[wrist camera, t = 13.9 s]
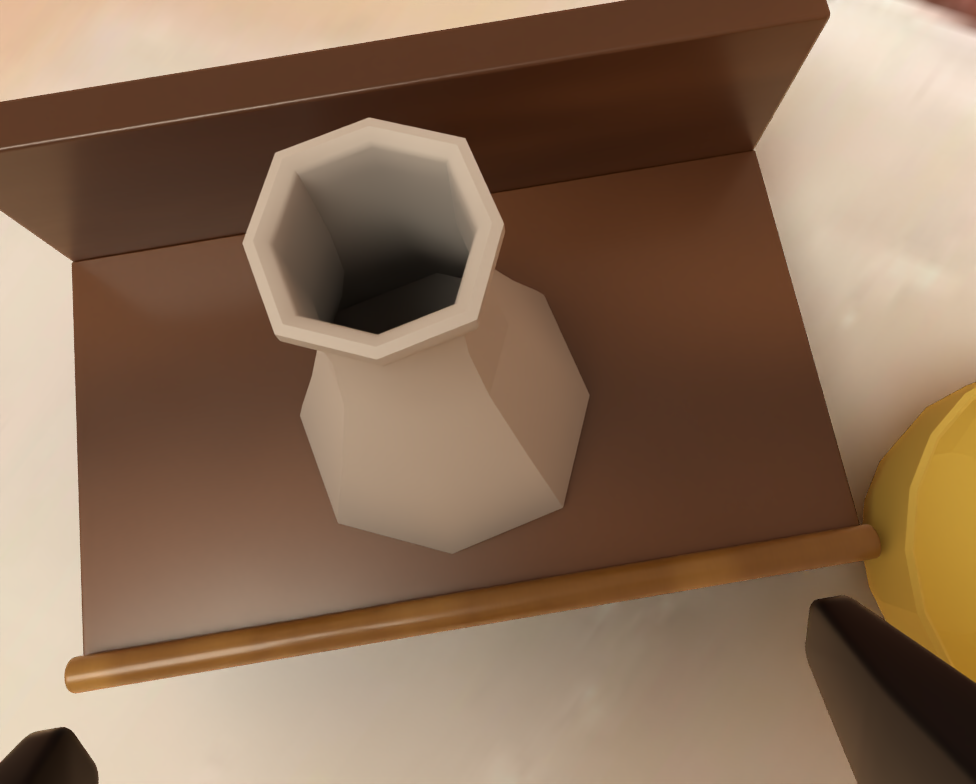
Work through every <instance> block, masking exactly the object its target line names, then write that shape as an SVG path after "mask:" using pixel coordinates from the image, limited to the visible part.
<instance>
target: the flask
mask: <svg viewBox="0 0 976 784" xmlns="http://www.w3.org/2000/svg"><path fill="white" fill-rule="evenodd" d="M504 234H505V227H504V223H503V220H502V218H501V216H500V214H499V212H498V209H497V207H496V205H495V203H494V201H493V198H492V196H491V194H490V192H489V189H488V187H487V185H486V183H485V181H484V178H483V176H482V174H481V172H480V170H479V167H478V165H477V163H476V161H475V159H474V156H473V154H472V152H471V150H470V147H469V145H468V143H467V141H466V139H465V138H462V137H457V136H453V135H448V134H444V133H439V132H434V131H430V130H425V129H420V128H416V127H411V126H407V125H402V124H397V123H393V122H388V121H383V120H379V119H374V118H366V119H364V120H361V121H358V122H356V123H353V124H350V125H348V126H345V127H342V128H340V129H337V130H334V131H332V132H329V133H326V134H324V135H321V136H319V137H316V138H313V139H311V140H308V141H305V142H303V143H300V144H297V145H295V146H292V147H289V148H287V149H284V150H281V151H279V152H276V153H275V155H274V157H273V160H272V163H271V166H270V168H269V171H268V174H267V177H266V179H265V182H264V185H263V188H262V190H261V193H260V196H259V199H258V201H257V204H256V207H255V210H254V213H253V215H252V218H251V221H250V224H249V226H248V229H247V232H246V235H245V237H244V240H243V243H242V244H243V246H244V249H245V252H246V255H247V258H248V260H249V263H250V266H251V269H252V272H253V275H254V277H255V280H256V283H257V286H258V289H259V292H260V294H261V297H262V300H263V303H264V306H265V308H266V311H267V314H268V317H269V320H270V323H271V325H272V328H273V331H274V334H275V335H276V337H277V338H278V339H279V341H282V342H286V343H290V344H294V345H298V346H302V347H306V348H310V349H314V350H317V353H316V358H315V363H314V368H313V373H312V377H311V380H310V383H309V386H308V390H307V393H306V396H305V399H304V402H303V405H302V409H301V413H300V417H301V420H302V423H303V426H304V428H305V431H306V434H307V437H308V440H309V443H310V445H311V448H312V451H313V454H314V457H315V460H316V462H317V465H318V468H319V471H320V474H321V477H322V479H323V482H324V485H325V488H326V491H327V494H328V496H329V499H330V502H331V505H332V508H333V511H334V513H335V516H336V519H337V522H338V523H339V524H343V525H346V526H350V527H354V528H358V529H361V530H365V531H369V532H373V533H376V534H380V535H384V536H387V537H391V538H395V539H399V540H402V541H406V542H410V543H413V544H417V545H421V546H425V547H428V548H432V549H436V550H439V551H443V552H447V553H451V554H453V553H456V552H458V551H460V550H463V549H465V548H468V547H470V546H472V545H475V544H477V543H480V542H482V541H484V540H487V539H489V538H492V537H494V536H496V535H499V534H501V533H504V532H506V531H508V530H511V529H513V528H516V527H518V526H520V525H523V524H525V523H528V522H530V521H532V520H535V519H537V518H540V517H542V516H544V515H547V514H549V513H552V512H554V511H556V510H559V509H561V508H563V506H564V501H565V497H566V493H567V489H568V485H569V480H570V476H571V472H572V468H573V463H574V459H575V455H576V451H577V447H578V442H579V438H580V434H581V430H582V425H583V421H584V417H585V413H586V408H587V404H588V400H589V396H590V395H589V393H588V390H587V388H586V386H585V384H584V382H583V379H582V377H581V375H580V373H579V371H578V368H577V366H576V364H575V362H574V360H573V357H572V355H571V353H570V351H569V349H568V346H567V344H566V342H565V340H564V338H563V335H562V333H561V331H560V329H559V327H558V324H557V322H556V320H555V318H554V316H553V314H552V311H551V309H550V307H549V305H548V303H547V300H546V298H545V296H544V295H543V294H541V293H540V292H538V291H536V290H534V289H532V288H529V287H527V286H525V285H522V284H520V283H517V282H515V281H513V280H511V279H510V278H508V277H506V276H505V275H503V274H501V273H500V272H498V271H497V270H495V267H496V263H497V259H498V256H499V252H500V248H501V245H502V241H503V238H504Z"/></svg>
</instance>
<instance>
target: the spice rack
mask: <svg viewBox="0 0 976 784" xmlns="http://www.w3.org/2000/svg"><path fill="white" fill-rule="evenodd" d="M829 18H830V11H829V7H828V4H827V1H826V0H625V1H619V2H613V3H606V4H600V5H594V6H588V7H582V8H576V9H569V10H563V11H557V12H551V13H545V14H539V15H533V16H526V17H520V18H514V19H508V20H502V21H496V22H489V23H483V24H477V25H471V26H465V27H459V28H452V29H446V30H440V31H434V32H428V33H422V34H416V35H409V36H403V37H397V38H391V39H385V40H379V41H372V42H366V43H360V44H354V45H348V46H342V47H336V48H329V49H323V50H317V51H311V52H305V53H299V54H292V55H286V56H280V57H274V58H268V59H262V60H255V61H249V62H243V63H237V64H231V65H225V66H219V67H212V68H206V69H200V70H194V71H188V72H182V73H175V74H169V75H163V76H157V77H151V78H145V79H139V80H132V81H126V82H120V83H114V84H108V85H102V86H95V87H89V88H83V89H77V90H71V91H65V92H58V93H52V94H46V95H40V96H34V97H28V98H22V99H15V100H9V101H3V102H0V211H2V212H3V213H5V214H6V215H8V216H9V217H10V218H12V219H13V220H15V221H16V222H18V223H19V224H20V225H22V226H23V227H25V228H26V229H27V230H29V231H30V232H32V233H33V234H35V235H36V236H37V237H39V238H40V239H42V240H43V241H45V242H46V243H47V244H49V245H50V246H52V247H53V248H55V249H56V250H57V251H59V252H60V253H62V254H63V255H64V256H66V257H67V258H69V259H70V260H72V261H73V263H72V285H73V319H74V352H75V386H76V420H77V453H78V487H79V520H80V554H81V587H82V621H83V655H84V656H78V657H74V658H73V659H71V660H70V661H69V662H68V664H67V666H66V669H65V684H66V687H67V689H68V690H69V691H70V692H72V693H81V692H87V691H93V690H99V689H104V688H110V687H116V686H122V685H128V684H134V683H140V682H146V681H152V680H158V679H164V678H170V677H176V676H182V675H188V674H193V673H199V672H205V671H211V670H217V669H223V668H229V667H235V666H241V665H247V664H253V663H259V662H265V661H271V660H277V659H282V658H288V657H294V656H300V655H306V654H312V653H318V652H324V651H330V650H336V649H342V648H348V647H354V646H360V645H366V644H371V643H377V642H383V641H389V640H395V639H401V638H407V637H413V636H419V635H425V634H431V633H437V632H443V631H449V630H455V629H460V628H466V627H472V626H478V625H484V624H490V623H496V622H502V621H508V620H514V619H520V618H526V617H532V616H538V615H544V614H549V613H555V612H561V611H567V610H573V609H579V608H585V607H591V606H597V605H603V604H609V603H615V602H621V601H627V600H633V599H639V598H644V597H650V596H656V595H662V594H668V593H674V592H680V591H686V590H692V589H698V588H704V587H710V586H716V585H722V584H728V583H733V582H739V581H745V580H751V579H757V578H763V577H769V576H775V575H781V574H787V573H793V572H799V571H805V570H811V569H817V568H822V567H828V566H834V565H840V564H846V563H852V562H858V561H864V560H870V559H876V558H878V557H879V556H880V554H881V549H882V548H881V541H880V538H879V535H878V533H877V532H876V530H875V529H874V528H873V527H872V526H871V525H868V524H863V525H860V524H859V520H858V517H857V513H856V510H855V506H854V503H853V499H852V495H851V492H850V488H849V485H848V481H847V478H846V474H845V470H844V467H843V463H842V460H841V456H840V453H839V449H838V445H837V442H836V438H835V435H834V431H833V428H832V424H831V420H830V417H829V413H828V410H827V406H826V403H825V399H824V395H823V392H822V388H821V385H820V381H819V378H818V374H817V370H816V367H815V363H814V360H813V356H812V353H811V349H810V345H809V342H808V338H807V335H806V331H805V328H804V324H803V321H802V317H801V313H800V310H799V306H798V303H797V299H796V296H795V292H794V288H793V285H792V281H791V278H790V274H789V271H788V267H787V263H786V260H785V256H784V253H783V249H782V246H781V242H780V238H779V235H778V231H777V228H776V224H775V221H774V217H773V213H772V210H771V206H770V203H769V199H768V196H767V192H766V188H765V185H764V181H763V178H762V174H761V171H760V167H759V163H758V160H757V156H756V153H755V151H753V150H754V148H755V146H756V145H757V143H758V141H759V139H760V138H761V136H762V134H763V132H764V131H765V129H766V127H767V126H768V124H769V122H770V120H771V119H772V117H773V115H774V113H775V112H776V110H777V108H778V106H779V105H780V103H781V101H782V99H783V98H784V96H785V94H786V92H787V91H788V89H789V87H790V85H791V84H792V82H793V80H794V79H795V77H796V75H797V73H798V72H799V70H800V68H801V66H802V65H803V63H804V61H805V59H806V58H807V56H808V54H809V52H810V51H811V49H812V47H813V45H814V44H815V42H816V40H817V38H818V37H819V35H820V33H821V32H822V30H823V28H824V26H825V25H826V23H827V21H828V19H829ZM366 118H374V119H379V120H383V121H388V122H393V123H397V124H402V125H407V126H411V127H416V128H420V129H425V130H430V131H434V132H439V133H444V134H448V135H453V136H457V137H462V138H465V139H466V141H467V143H468V145H469V147H470V150H471V152H472V154H473V156H474V159H475V161H476V163H477V165H478V167H479V170H480V172H481V174H482V176H483V178H484V181H485V183H486V185H487V187H488V189H489V192H490V194H491V196H492V198H493V201H494V203H495V205H496V207H497V209H498V212H499V214H500V216H501V218H502V220H503V223H504V227H505V234H504V238H503V241H502V245H501V248H500V252H499V256H498V259H497V263H496V267H495V270H497V271H498V272H500V273H501V274H503V275H505V276H506V277H508V278H510V279H511V280H513V281H515V282H517V283H520V284H522V285H525V286H527V287H529V288H532V289H534V290H536V291H538V292H540V293H541V294H543V295H544V296H545V298H546V300H547V303H548V305H549V307H550V309H551V311H552V314H553V316H554V318H555V320H556V322H557V324H558V327H559V329H560V331H561V333H562V335H563V338H564V340H565V342H566V344H567V346H568V349H569V351H570V353H571V355H572V357H573V360H574V362H575V364H576V366H577V368H578V371H579V373H580V375H581V377H582V379H583V382H584V384H585V386H586V388H587V390H588V393H589V395H590V396H589V400H588V404H587V408H586V413H585V417H584V421H583V425H582V430H581V434H580V438H579V442H578V447H577V451H576V455H575V459H574V463H573V468H572V472H571V476H570V480H569V485H568V489H567V493H566V497H565V501H564V506H563V508H561V509H559V510H556V511H554V512H552V513H549V514H547V515H544V516H542V517H540V518H537V519H535V520H532V521H530V522H528V523H525V524H523V525H520V526H518V527H516V528H513V529H511V530H508V531H506V532H504V533H501V534H499V535H496V536H494V537H492V538H489V539H487V540H484V541H482V542H480V543H477V544H475V545H472V546H470V547H468V548H465V549H463V550H460V551H458V552H456V553H453V554H451V553H447V552H443V551H439V550H436V549H432V548H428V547H425V546H421V545H417V544H413V543H410V542H406V541H402V540H399V539H395V538H391V537H387V536H384V535H380V534H376V533H373V532H369V531H365V530H361V529H358V528H354V527H350V526H346V525H343V524H339V523H338V522H337V519H336V516H335V513H334V511H333V508H332V505H331V502H330V499H329V496H328V494H327V491H326V488H325V485H324V482H323V479H322V477H321V474H320V471H319V468H318V465H317V462H316V460H315V457H314V454H313V451H312V448H311V445H310V443H309V440H308V437H307V434H306V431H305V428H304V426H303V423H302V420H301V417H300V413H301V409H302V405H303V402H304V399H305V396H306V393H307V390H308V386H309V383H310V380H311V377H312V373H313V368H314V363H315V358H316V353H317V350H314V349H310V348H306V347H302V346H298V345H294V344H290V343H286V342H282V341H279V339H278V338H277V337H276V335H275V334H274V331H273V328H272V325H271V323H270V320H269V317H268V314H267V311H266V308H265V306H264V303H263V300H262V297H261V294H260V292H259V289H258V286H257V283H256V280H255V277H254V275H253V272H252V269H251V266H250V263H249V260H248V258H247V255H246V252H245V249H244V246H243V244H242V243H243V240H244V237H245V235H246V232H247V229H248V226H249V224H250V221H251V218H252V215H253V213H254V210H255V207H256V204H257V201H258V199H259V196H260V193H261V190H262V188H263V185H264V182H265V179H266V177H267V174H268V171H269V168H270V166H271V163H272V160H273V157H274V155H275V153H276V152H279V151H281V150H284V149H287V148H289V147H292V146H295V145H297V144H300V143H303V142H305V141H308V140H311V139H313V138H316V137H319V136H321V135H324V134H326V133H329V132H332V131H334V130H337V129H340V128H342V127H345V126H348V125H350V124H353V123H356V122H358V121H361V120H364V119H366Z"/></svg>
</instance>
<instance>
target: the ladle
mask: <svg viewBox="0 0 976 784" xmlns="http://www.w3.org/2000/svg"><path fill="white" fill-rule="evenodd" d="M863 524H868V525H871V526H872V527H873V528H874V529H875V530H876V532H877V533H878V535H879V538H880V541H881V548H882V549H881V554H880V556H879V557H878V558H876V559H870V560H864V563H865V569H866V574H867V579H868V584H869V588H870V590H871V592H872V594H873V596H874V598H875V600H876V602H877V604H878V606H879V608H880V610H881V612H882V614H883V616H884V618H885V620H886V622H888V623H889V624H891V625H892V626H894V627H895V628H897V629H898V630H899V631H901V632H902V633H904V634H905V635H907V636H908V637H910V638H911V639H913V640H914V641H916V642H917V643H918V644H920V645H921V646H923V647H924V648H926V649H927V650H929V651H930V652H932V653H933V654H935V655H936V656H937V657H939V658H940V659H942V660H943V661H945V662H946V663H948V664H949V665H951V666H952V667H953V668H955V669H956V670H958V671H959V672H961V673H962V674H964V675H965V676H967V677H968V678H970V679H971V680H972V681H974V682H975V683H976V382H975V383H972V384H969V385H967V386H965V387H963V388H961V389H959V390H957V391H956V392H954V393H952V394H950V395H948V396H946V397H945V398H943V399H941V400H939V401H937V402H936V403H934V404H932V405H930V406H928V407H926V408H925V410H924V411H923V412H922V413H921V414H920V415H919V416H918V418H917V419H916V420H915V421H914V422H913V423H912V425H911V426H910V427H909V428H908V429H907V430H906V432H905V433H904V434H903V435H902V436H901V437H900V438H899V440H898V441H897V442H896V443H895V444H894V445H893V447H892V448H891V449H890V450H889V451H888V452H887V454H886V455H885V456H884V457H883V458H882V459H881V461H880V462H879V465H878V467H877V470H876V472H875V475H874V477H873V479H872V482H871V484H870V487H869V489H868V492H867V494H866V497H865V499H864V510H863V521H862V525H863Z"/></svg>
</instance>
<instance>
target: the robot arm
mask: <svg viewBox="0 0 976 784" xmlns="http://www.w3.org/2000/svg"><path fill="white" fill-rule="evenodd" d="M805 650H806V656H807V660H808V663H809V666H810V669H811V671H812V674H813V676H814V678H815V681H816V683H817V686H818V688H819V691H820V693H821V696H822V698H823V700H824V703H825V705H826V708H827V710H828V713H829V715H830V718H831V720H832V722H833V725H834V727H835V730H836V732H837V735H838V737H839V740H840V742H841V744H842V747H843V749H844V752H845V754H846V757H847V759H848V762H849V764H850V767H851V769H852V771H853V774H854V776H855V778H856V780H857V783H858V784H976V683H975V682H974V681H972V680H971V679H970V678H968V677H967V676H965V675H964V674H962V673H961V672H959V671H958V670H956V669H955V668H953V667H952V666H951V665H949V664H948V663H946V662H945V661H943V660H942V659H940V658H939V657H937V656H936V655H935V654H933V653H932V652H930V651H929V650H927V649H926V648H924V647H923V646H921V645H920V644H918V643H917V642H916V641H914V640H913V639H911V638H910V637H908V636H907V635H905V634H904V633H902V632H901V631H899V630H898V629H897V628H895V627H894V626H892V625H891V624H889V623H888V622H886V621H885V620H883V619H882V618H881V617H879V616H878V615H876V614H875V613H873V612H872V611H870V610H869V609H867V608H866V607H864V606H863V605H862V604H860V603H859V602H857V601H856V600H854V599H852V598H850V597H848V596H834V597H828V598H822V599H817V600H814V601H813V603H812V604H811V606H810V610H809V618H808V626H807V634H806V642H805ZM98 780H99V777H98V771H97V767H96V765H95V763H94V761H93V760H92V758H91V757H90V756H89V754H88V753H87V751H86V750H85V748H84V747H83V746H82V744H81V743H80V741H79V740H78V738H77V737H76V736H75V734H74V733H73V732H72V731H71V730H70V729H68V728H65V727H60V728H54V729H48V730H42V731H37V732H34V733H31V734H29V735H28V736H27V737H25V738H24V739H23V740H22V741H21V742H20V743H19V744H18V745H17V746H16V747H15V748H14V749H13V750H12V751H11V752H10V753H9V754H8V755H7V756H6V757H5V758H4V759H3V760H2V761H1V762H0V784H98Z"/></svg>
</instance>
